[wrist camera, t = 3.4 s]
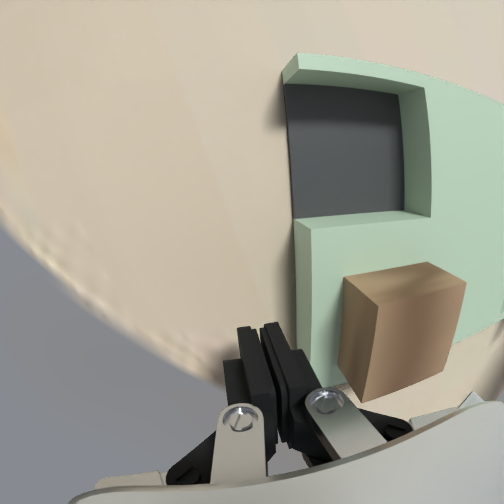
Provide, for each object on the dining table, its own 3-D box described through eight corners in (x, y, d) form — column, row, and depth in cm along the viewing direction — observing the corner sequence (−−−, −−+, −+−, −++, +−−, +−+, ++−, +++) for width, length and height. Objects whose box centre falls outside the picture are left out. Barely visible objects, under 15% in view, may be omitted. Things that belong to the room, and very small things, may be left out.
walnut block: (427, 261, 13) (466, 282, 10) (413, 342, 14) (442, 371, 11) (343, 276, 12) (378, 306, 9) (337, 365, 14) (361, 403, 11)
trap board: (528, 127, 15) (572, 130, 9) (516, 291, 19) (553, 312, 14) (281, 70, 12) (325, 22, 6) (296, 364, 16) (327, 431, 11)
